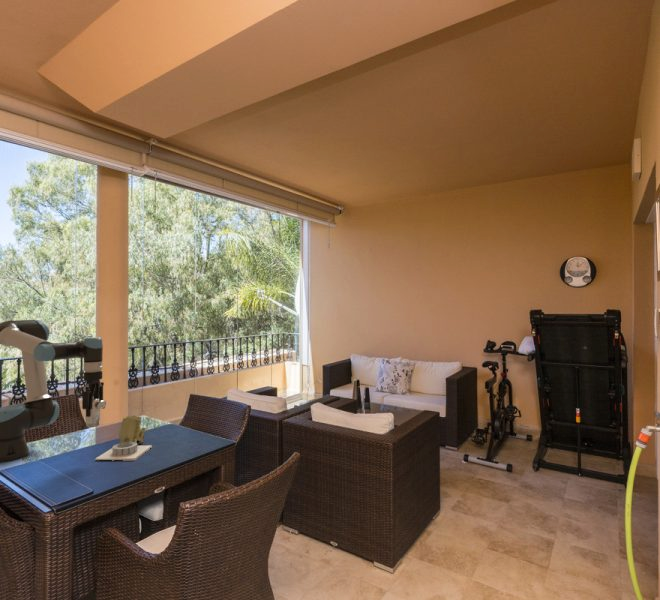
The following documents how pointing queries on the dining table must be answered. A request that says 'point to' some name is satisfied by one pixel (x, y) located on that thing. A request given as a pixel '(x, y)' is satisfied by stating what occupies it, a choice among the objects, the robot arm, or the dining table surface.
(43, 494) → the dining table surface
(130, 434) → the mechanical component
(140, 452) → the plate
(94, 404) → the elbow
